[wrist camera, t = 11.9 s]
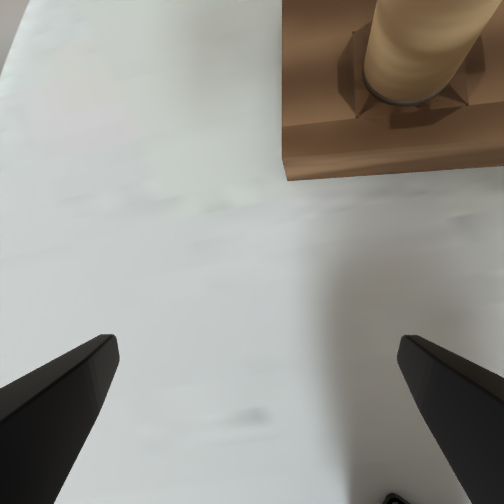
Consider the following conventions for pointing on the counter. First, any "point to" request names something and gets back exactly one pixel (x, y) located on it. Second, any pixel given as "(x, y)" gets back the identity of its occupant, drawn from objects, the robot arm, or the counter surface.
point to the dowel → (420, 46)
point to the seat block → (374, 111)
